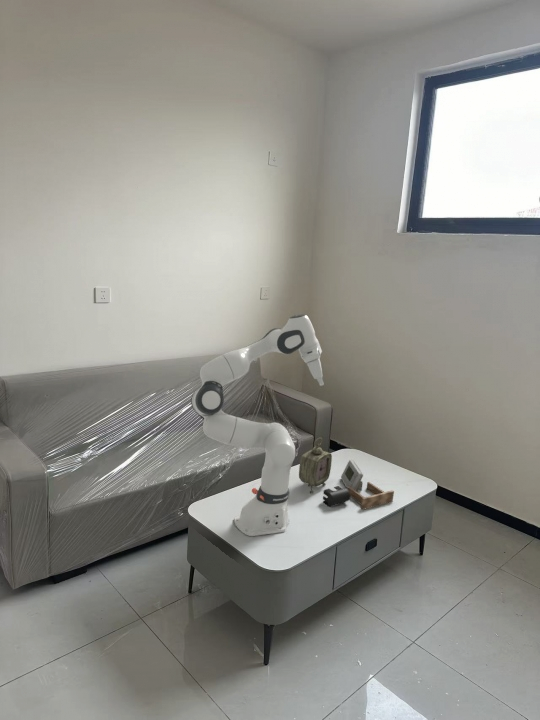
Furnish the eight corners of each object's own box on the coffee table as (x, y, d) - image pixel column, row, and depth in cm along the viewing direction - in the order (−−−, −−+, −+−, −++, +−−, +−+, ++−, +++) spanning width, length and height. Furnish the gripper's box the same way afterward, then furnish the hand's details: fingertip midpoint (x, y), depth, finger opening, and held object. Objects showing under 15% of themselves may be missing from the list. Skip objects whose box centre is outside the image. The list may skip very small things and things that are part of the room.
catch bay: (362, 509, 218) (363, 499, 217) (342, 494, 230) (343, 484, 228) (392, 501, 227) (394, 491, 226) (372, 487, 239) (373, 477, 238)
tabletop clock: (312, 496, 226) (318, 445, 220) (295, 489, 231) (300, 439, 225) (328, 485, 237) (334, 436, 231) (312, 479, 242) (317, 431, 236)
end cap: (332, 510, 216) (333, 496, 214) (321, 502, 221) (323, 488, 220) (349, 505, 221) (351, 491, 220) (338, 497, 227) (340, 484, 225)
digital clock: (340, 477, 246) (342, 457, 244) (358, 479, 246) (361, 459, 244) (343, 494, 231) (345, 472, 228) (362, 495, 230) (365, 474, 228)
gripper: (303, 347, 216) (313, 376, 220) (303, 360, 197) (315, 391, 200) (317, 342, 216) (327, 371, 219) (318, 355, 196) (330, 386, 199)
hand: (321, 381), depth 209 cm, fingers open, 8 cm apart
